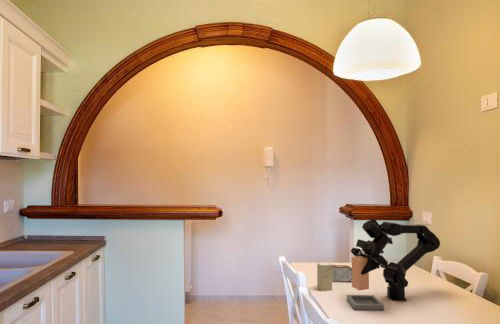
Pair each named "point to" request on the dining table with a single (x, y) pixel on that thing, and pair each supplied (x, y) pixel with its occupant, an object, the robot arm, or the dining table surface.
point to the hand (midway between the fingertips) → (357, 272)
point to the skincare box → (324, 276)
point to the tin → (341, 273)
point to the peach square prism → (359, 273)
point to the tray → (365, 302)
